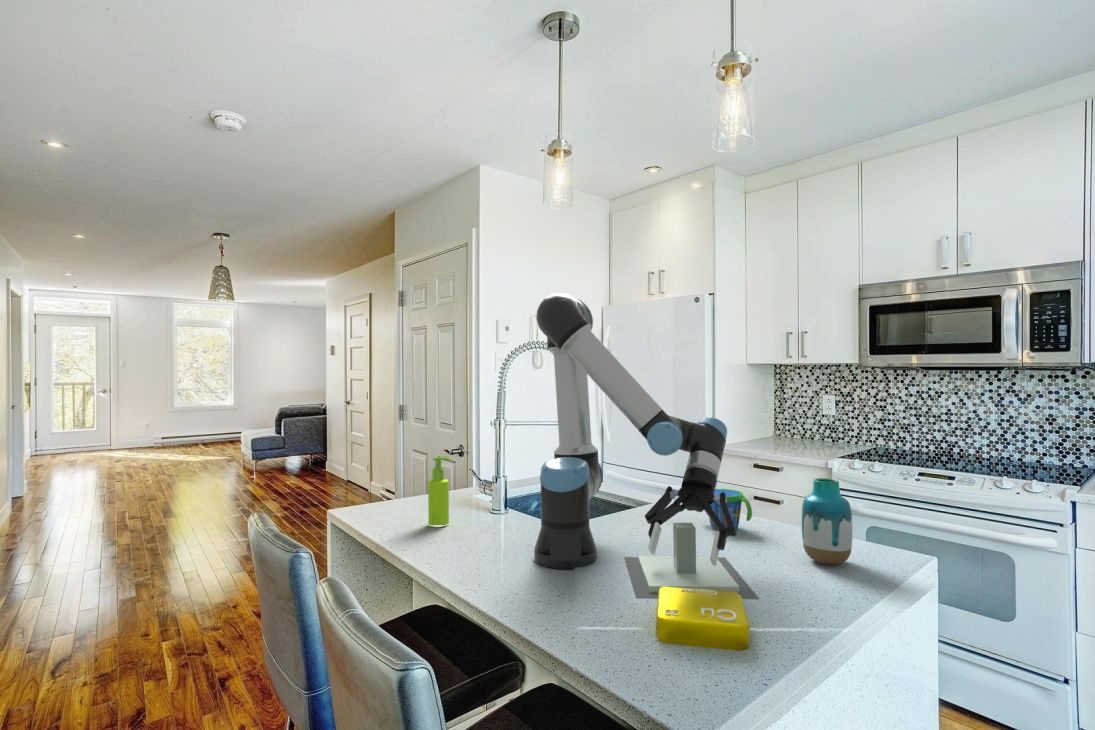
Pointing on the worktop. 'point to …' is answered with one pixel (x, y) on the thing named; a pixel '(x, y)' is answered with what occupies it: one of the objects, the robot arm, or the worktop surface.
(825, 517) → the vase
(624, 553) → the worktop surface
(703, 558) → the sage lid
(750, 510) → the snack cup
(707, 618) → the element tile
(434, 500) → the soap dispenser
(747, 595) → the rubber mat
